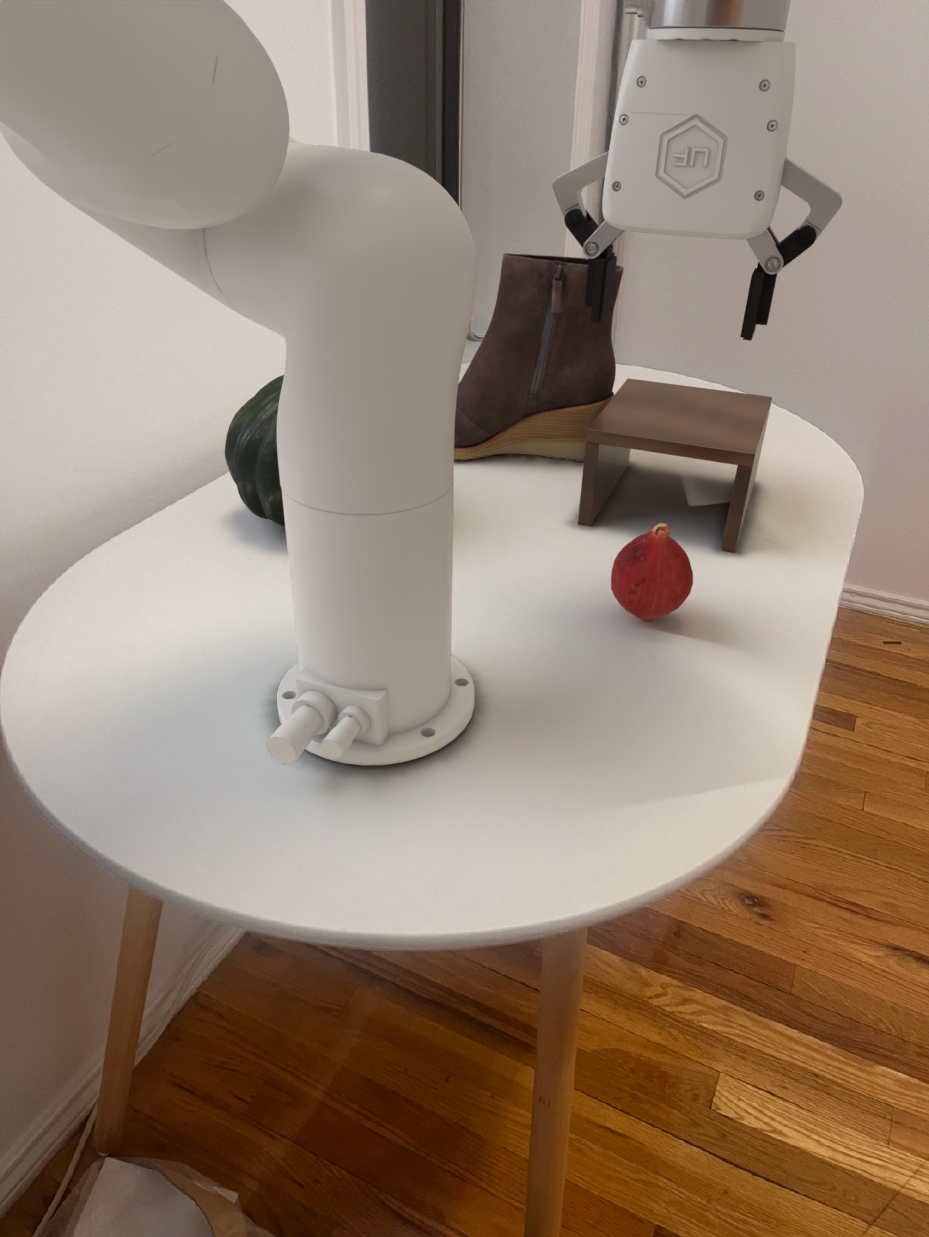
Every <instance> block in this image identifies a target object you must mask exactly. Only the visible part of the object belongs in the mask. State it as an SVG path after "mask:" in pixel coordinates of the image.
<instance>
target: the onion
mask: <svg viewBox="0 0 929 1237" xmlns="http://www.w3.org/2000/svg"><path fill="white" fill-rule="evenodd" d="M670 533H671V528H670V526H669V525H668V523H663V522H662V523H661V522H660V523H659V522H658V524H656V525H655V526H654V527H652V528H651V529H650V530H648V531H647V532H646V533H642V534H640V535H637V536H635V538H633V539H632V540H630V541H629V542H627V544H625V545H624V546H623V547H622V548H621V549H620V550H619V552H618V553H617V555H616V556H615V558H614V560H613V565H612V568H611V573H610V589H611V591H612V594H613V596H614V599H615V600H616V601H617V602H618V604H619V605H620V607H622V608H623V610H625V611H626V612H628V613H629V614H631V615H632V616H633V617H636V618H638V619H639V620H641V621H642V622H644V623H645V622H646V623H648V622H649V623H650V622H654V621H655V620H657V619H659V618H662V617H665V616H667V615H669V614H670V613H671V614H672V613H673V612H674V611H677V610H678V609H679V608H681V606H682V605H683V603H684V602H686V600H687V598H688V597H689V596H690V594H691V592H692V588H693V585H694V572H693V568H692V564H691V561H690V558H689V556H688V554H687V552H686V551H685V549H684V548H683V547H682V546H681V544H679V543H678V541H676V540H675V539H673V537H671V536H670Z"/></svg>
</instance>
